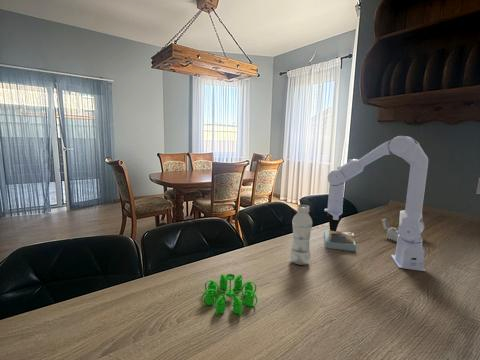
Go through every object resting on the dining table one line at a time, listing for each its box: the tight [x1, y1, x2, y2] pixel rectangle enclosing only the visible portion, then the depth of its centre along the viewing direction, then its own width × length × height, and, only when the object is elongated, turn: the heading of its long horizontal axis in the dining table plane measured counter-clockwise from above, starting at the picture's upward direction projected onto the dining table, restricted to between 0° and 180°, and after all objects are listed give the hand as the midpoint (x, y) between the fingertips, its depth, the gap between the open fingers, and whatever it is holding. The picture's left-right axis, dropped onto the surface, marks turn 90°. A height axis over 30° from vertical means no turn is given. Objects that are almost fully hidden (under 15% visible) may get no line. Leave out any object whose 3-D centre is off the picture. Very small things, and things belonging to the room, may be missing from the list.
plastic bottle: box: [289, 204, 313, 266], centre depth 88 cm, size 6×7×20 cm
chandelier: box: [201, 273, 258, 316], centre depth 68 cm, size 15×15×7 cm
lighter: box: [381, 218, 399, 242], centre depth 113 cm, size 7×2×8 cm, turn 31°
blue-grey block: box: [323, 229, 357, 252], centre depth 107 cm, size 13×11×6 cm
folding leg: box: [328, 230, 355, 243], centre depth 103 cm, size 9×2×3 cm, turn 77°
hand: (332, 231), depth 108 cm, fingers closed
